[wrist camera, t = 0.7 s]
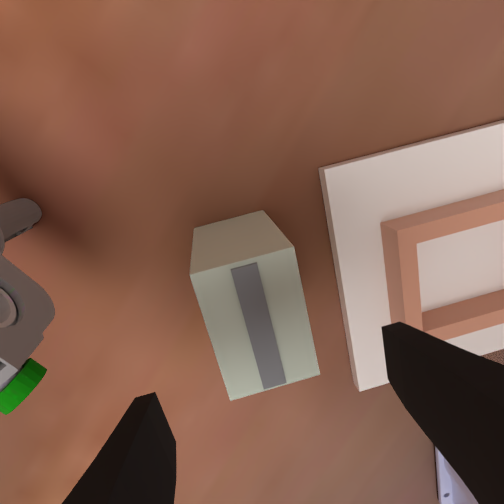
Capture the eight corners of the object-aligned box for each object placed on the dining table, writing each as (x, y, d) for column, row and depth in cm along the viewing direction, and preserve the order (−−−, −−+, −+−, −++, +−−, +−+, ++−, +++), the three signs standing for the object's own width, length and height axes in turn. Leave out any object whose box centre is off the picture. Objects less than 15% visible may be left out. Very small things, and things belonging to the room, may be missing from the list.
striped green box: (283, 301, 21) (321, 376, 15) (221, 319, 21) (230, 403, 14) (262, 209, 19) (295, 247, 13) (193, 227, 19) (189, 276, 12)
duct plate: (550, 323, 25) (591, 345, 22) (353, 381, 24) (372, 411, 21) (566, 103, 20) (622, 98, 17) (318, 168, 19) (336, 172, 16)
